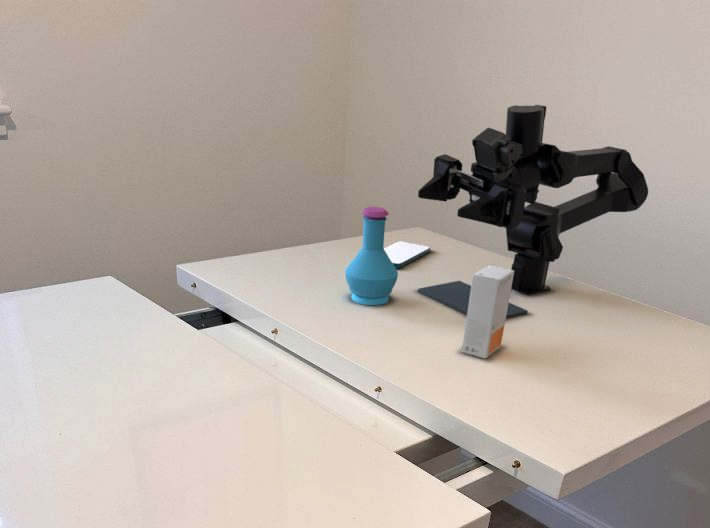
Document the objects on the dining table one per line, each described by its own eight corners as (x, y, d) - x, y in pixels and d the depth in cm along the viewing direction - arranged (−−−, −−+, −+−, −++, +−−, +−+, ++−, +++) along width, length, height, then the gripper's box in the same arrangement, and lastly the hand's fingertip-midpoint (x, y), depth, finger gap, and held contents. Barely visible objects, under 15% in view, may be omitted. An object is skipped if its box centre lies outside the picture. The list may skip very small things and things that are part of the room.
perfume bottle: (376, 311, 122) (381, 219, 113) (333, 298, 126) (336, 208, 118) (406, 298, 128) (413, 209, 119) (364, 286, 133) (369, 200, 124)
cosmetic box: (486, 359, 107) (499, 280, 100) (460, 352, 109) (471, 273, 102) (502, 347, 112) (515, 269, 105) (476, 340, 113) (488, 264, 107)
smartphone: (398, 245, 156) (363, 261, 144) (398, 240, 155) (364, 257, 144) (431, 251, 153) (399, 269, 141) (432, 247, 152) (399, 264, 141)
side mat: (458, 283, 136) (459, 280, 136) (527, 313, 124) (527, 310, 124) (417, 291, 131) (418, 288, 131) (484, 324, 120) (485, 320, 119)
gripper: (474, 112, 119) (402, 132, 112) (561, 143, 108) (487, 167, 101) (466, 182, 127) (399, 204, 120) (547, 217, 116) (477, 243, 109)
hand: (438, 203), depth 112 cm, fingers open, 9 cm apart
